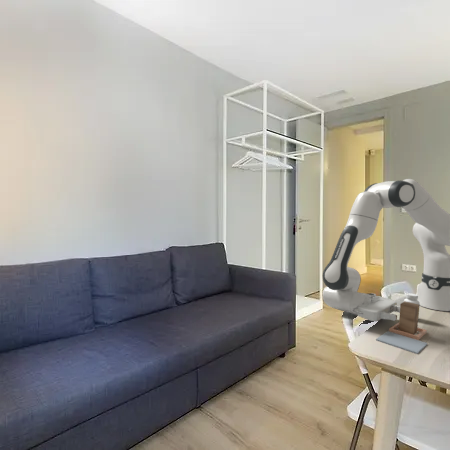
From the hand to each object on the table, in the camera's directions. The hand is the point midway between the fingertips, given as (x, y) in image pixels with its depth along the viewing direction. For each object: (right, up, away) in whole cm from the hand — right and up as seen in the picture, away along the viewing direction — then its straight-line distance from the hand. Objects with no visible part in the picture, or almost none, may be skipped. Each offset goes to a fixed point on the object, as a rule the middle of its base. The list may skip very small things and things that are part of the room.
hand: (401, 314), depth 110 cm
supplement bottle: (+11, -5, +12) cm, 17 cm away
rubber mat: (-6, -6, -10) cm, 13 cm away
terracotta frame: (+1, -6, -1) cm, 6 cm away
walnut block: (+1, -6, -1) cm, 6 cm away
